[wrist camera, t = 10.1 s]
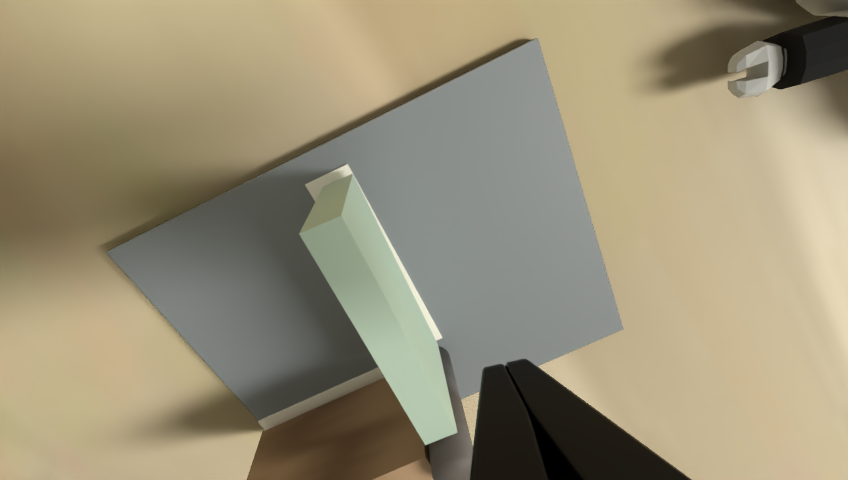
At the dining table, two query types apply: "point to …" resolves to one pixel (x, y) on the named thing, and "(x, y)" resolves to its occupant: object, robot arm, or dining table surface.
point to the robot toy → (795, 52)
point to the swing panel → (380, 304)
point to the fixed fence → (364, 441)
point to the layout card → (394, 246)
